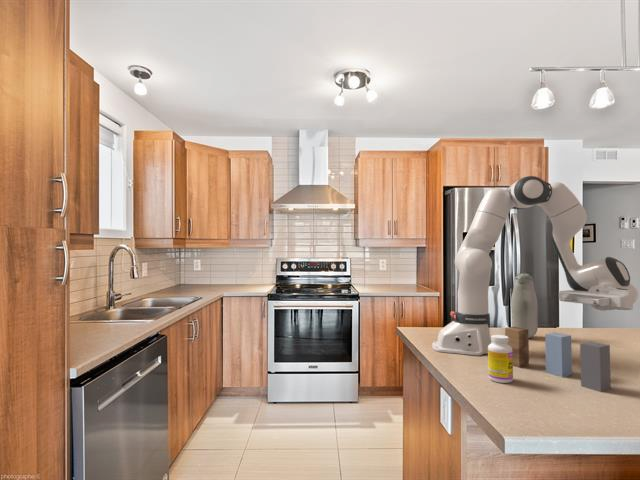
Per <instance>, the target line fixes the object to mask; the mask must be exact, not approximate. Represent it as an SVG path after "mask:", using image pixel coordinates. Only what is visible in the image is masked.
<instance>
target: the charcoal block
mask: <svg viewBox="0 0 640 480" xmlns="http://www.w3.org/2000/svg"><path fill="white" fill-rule="evenodd" d="M579 347H580V349H579V353H580V355H579V357H580V359H579V360H580V386H581V387H583V388H586V389H590V390H593V391H596V392H598V393H602V392H605V391H608V390H611V389H612V387H611V386H612V385H611V383H612V382H611V380H612V379H611V350H610V348H611V347H610V344H605V343H600V342H595V341H584V342H581V343H580V344H579Z"/></svg>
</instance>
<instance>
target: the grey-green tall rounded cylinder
mask: <svg viewBox="0 0 640 480" xmlns="http://www.w3.org/2000/svg"><path fill="white" fill-rule="evenodd" d="M513 282H514V283H513V289H512V293H511V299H510V311H511V312H510V315H511V317H510V318H511V327H519V328H524V329H528V336H529V339H530V338H533V337H534V336H535V335H536V334H537V332H538V329H539V328H538V326H539V321H538V320H539V319H538V318H539V316H538V315H539V314H538V313H539V311H538V310H539V309H538V308H539V306H538V305H539V304H538V297H537V293H536V289H535V283H534V278H533V277H532V276H531V274H529V273H518V274H516V276H515V277H514V280H513Z"/></svg>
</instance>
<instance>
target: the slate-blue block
mask: <svg viewBox="0 0 640 480" xmlns="http://www.w3.org/2000/svg"><path fill="white" fill-rule="evenodd" d="M544 338H545V339H544V340H545V343H544V344H545V373H546V374H549V375H553V376H557V377H561V378H565V377H568V376H571V375H573V364H572V363H573V361H572V356H573V355H572V354H573V353H572V335H569V334H565V333H561V332H550V333H545V334H544Z"/></svg>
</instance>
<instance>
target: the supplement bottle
mask: <svg viewBox="0 0 640 480" xmlns="http://www.w3.org/2000/svg"><path fill="white" fill-rule="evenodd" d="M490 338H491V344H489V346H488V353H487V368H488V369H487V372H488V373H487V376H488V379H489V380H490V381H492V382H495V383H499V384H509V383H512V382H513V379H514V366H513V352H512V347H511V346H509V345H508V341H509V337H507V336H505V334H492V335H490Z"/></svg>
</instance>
